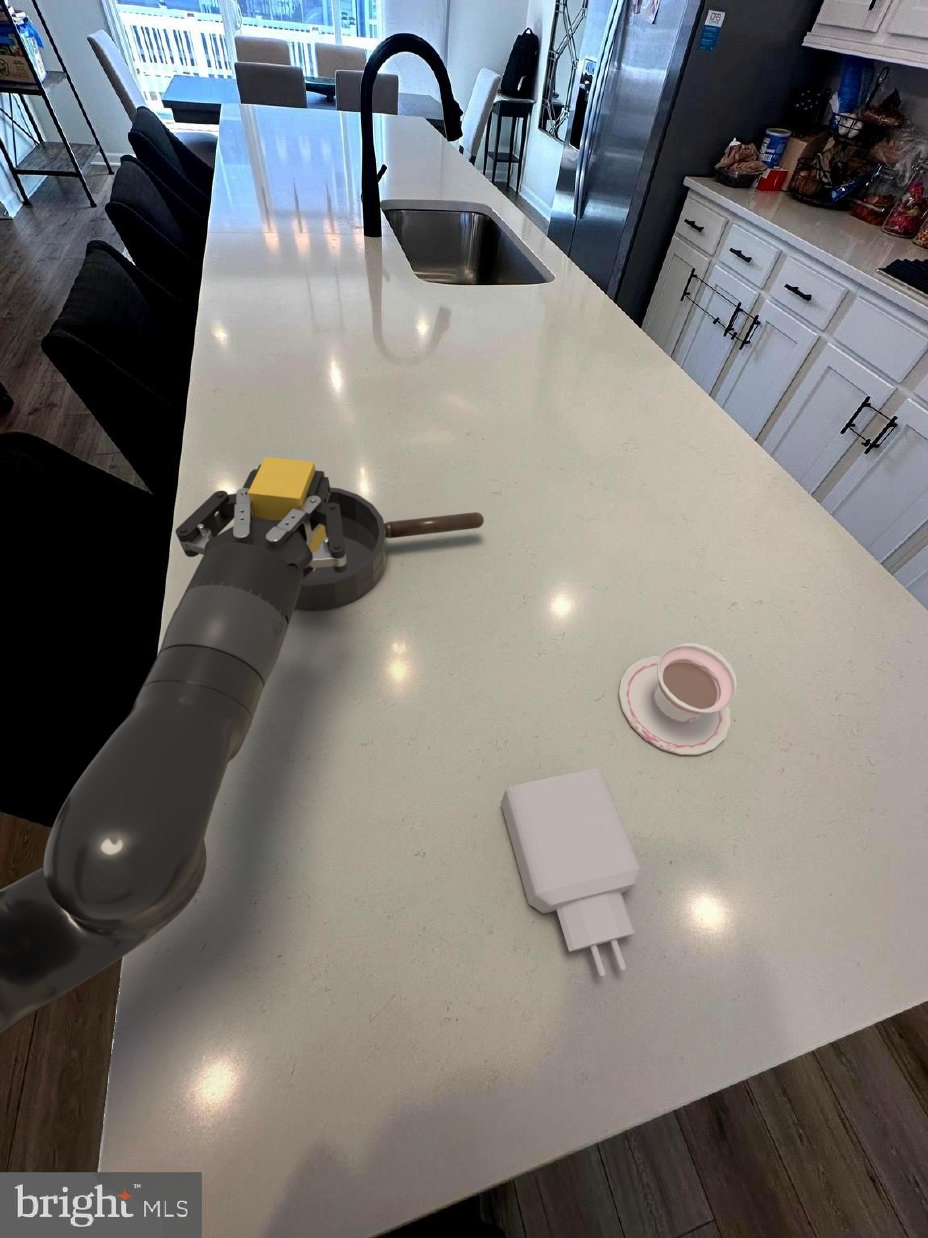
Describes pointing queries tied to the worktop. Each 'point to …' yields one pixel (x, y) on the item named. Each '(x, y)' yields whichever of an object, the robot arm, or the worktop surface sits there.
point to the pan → (349, 557)
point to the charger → (574, 857)
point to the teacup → (680, 698)
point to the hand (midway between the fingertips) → (294, 476)
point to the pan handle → (433, 525)
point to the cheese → (283, 491)
